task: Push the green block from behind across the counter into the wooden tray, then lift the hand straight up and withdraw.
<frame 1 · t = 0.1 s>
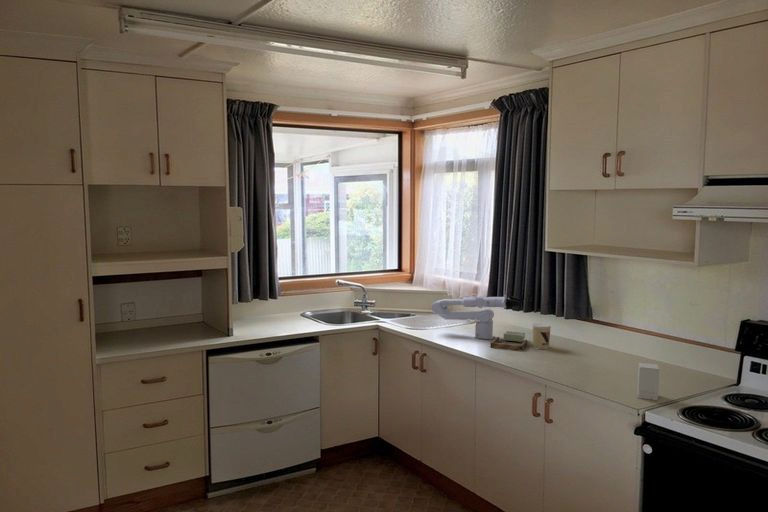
hand: (521, 302, 332), 22 cm above the worktop, tool horizontal, fingers open, 7 cm apart
supplement box: (647, 397, 242), on the worktop
coffee cup: (540, 347, 320), on the worktop
green block: (514, 340, 335), on the worktop
wooden tray: (509, 345, 323), on the worktop
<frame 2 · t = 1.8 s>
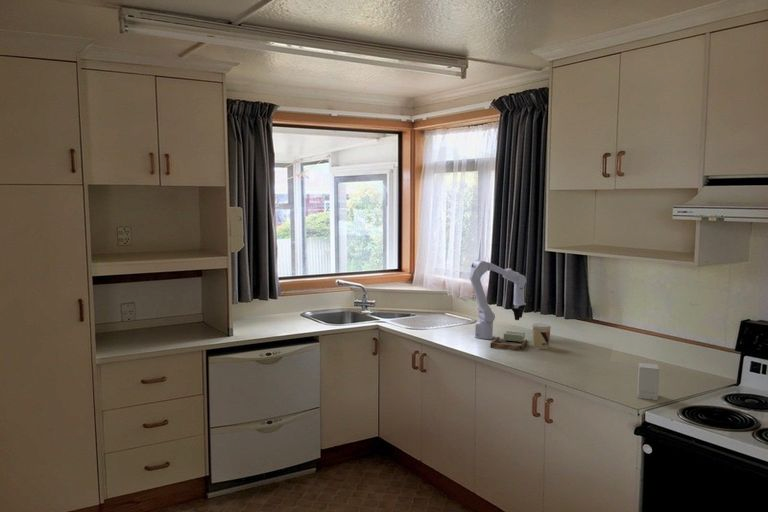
hand: (518, 318, 346), 10 cm above the worktop, tool pointing down, fingers open, 7 cm apart
nothing on the worktop moved.
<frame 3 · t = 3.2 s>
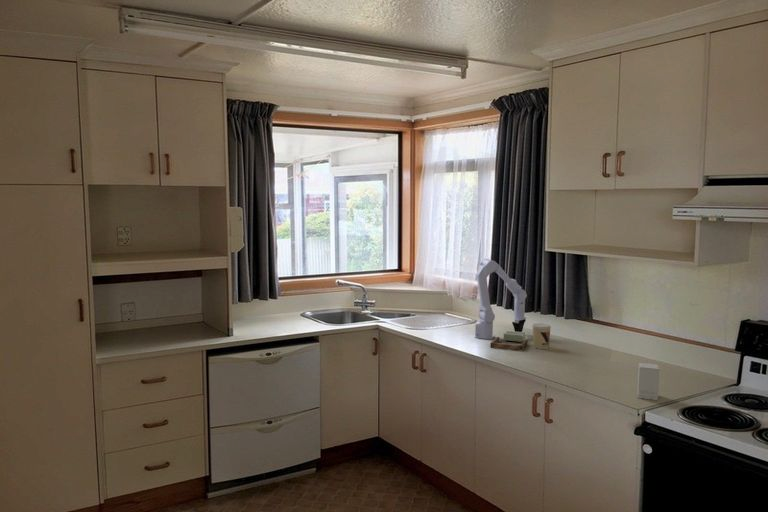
hand: (518, 333, 346), 2 cm above the worktop, tool pointing down, fingers open, 7 cm apart
nothing on the worktop moved.
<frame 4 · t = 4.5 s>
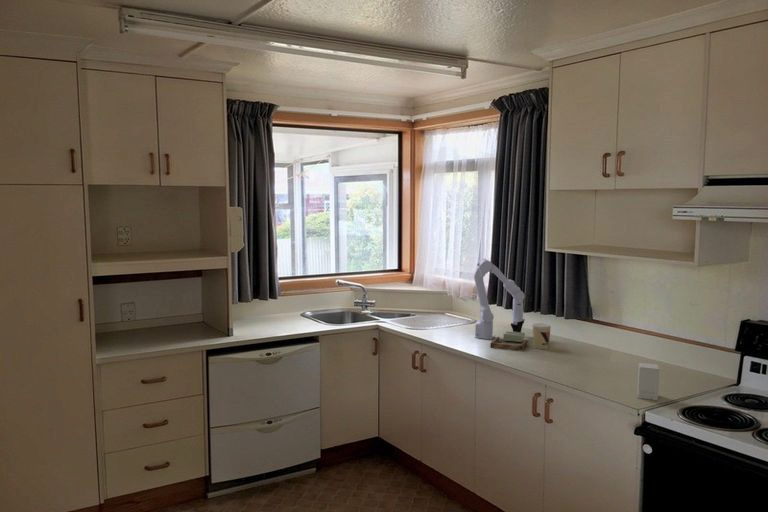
hand: (517, 334, 342), 2 cm above the worktop, tool pointing down, fingers open, 7 cm apart
green block: (513, 340, 334), on the worktop, touching gripper
everything else where it was.
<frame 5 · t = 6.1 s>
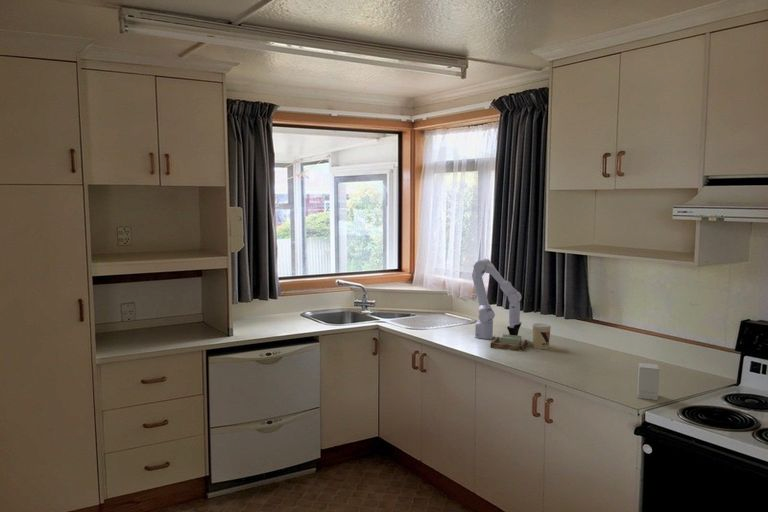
hand: (513, 338, 334), 2 cm above the worktop, tool pointing down, fingers open, 7 cm apart
green block: (510, 344, 326), on the worktop, touching gripper
everything else where it was.
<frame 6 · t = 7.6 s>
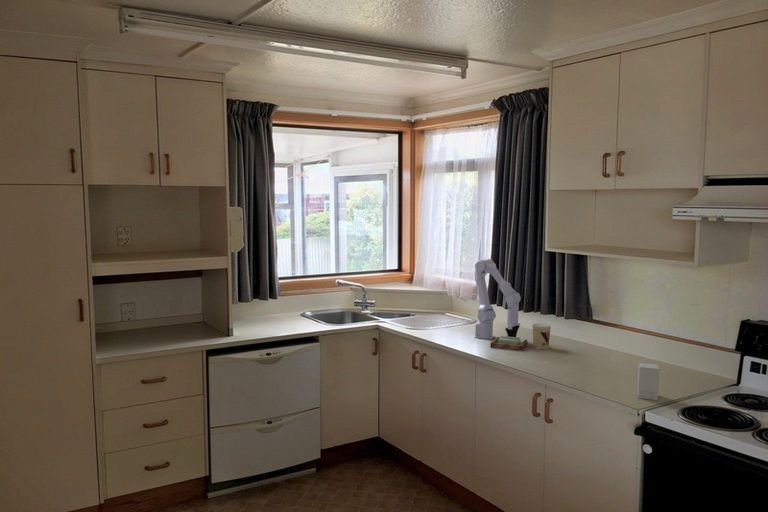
hand: (512, 339, 330), 2 cm above the worktop, tool pointing down, fingers open, 7 cm apart
green block: (508, 346, 322), on the worktop, touching gripper
everything else where it was.
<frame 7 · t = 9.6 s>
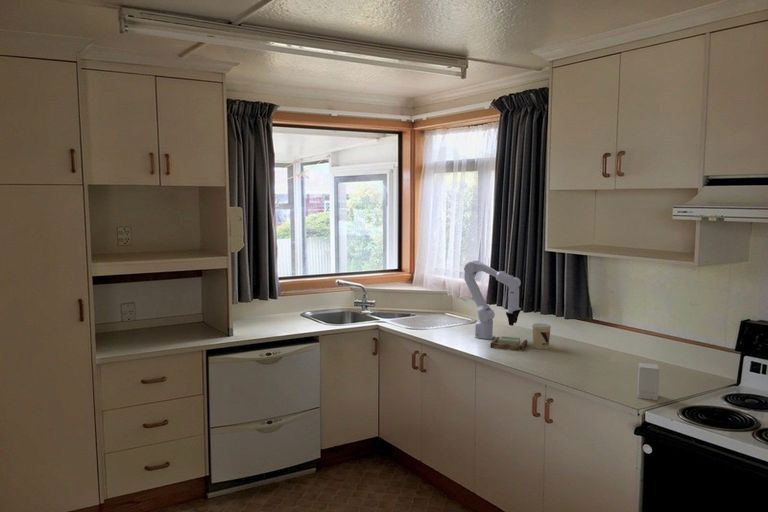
hand: (512, 324, 334), 9 cm above the worktop, tool pointing down, fingers open, 7 cm apart
green block: (508, 346, 322), on the worktop
everything else where it was.
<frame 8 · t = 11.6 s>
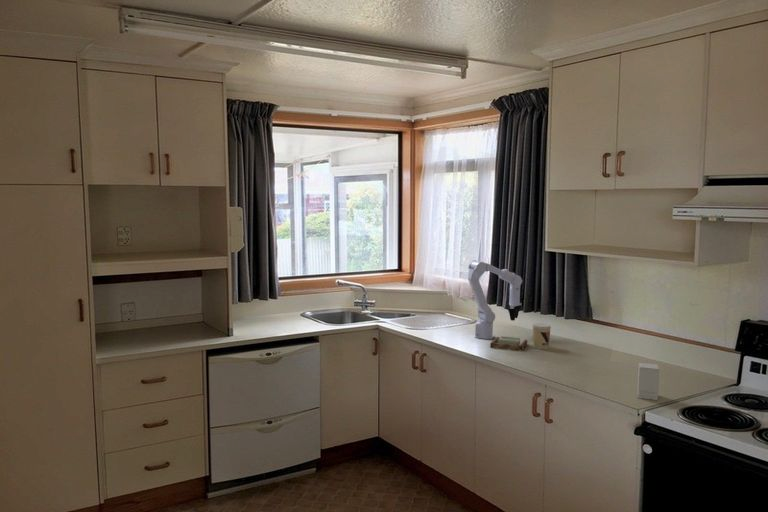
hand: (514, 319, 347), 9 cm above the worktop, tool pointing down, fingers open, 7 cm apart
nothing on the worktop moved.
at the end: green block 1.4 cm off-centre on the wooden tray, point 0.0 cm above the wooden tray's base; green block tilted 0°; green block moved 13.9 cm from its start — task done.
